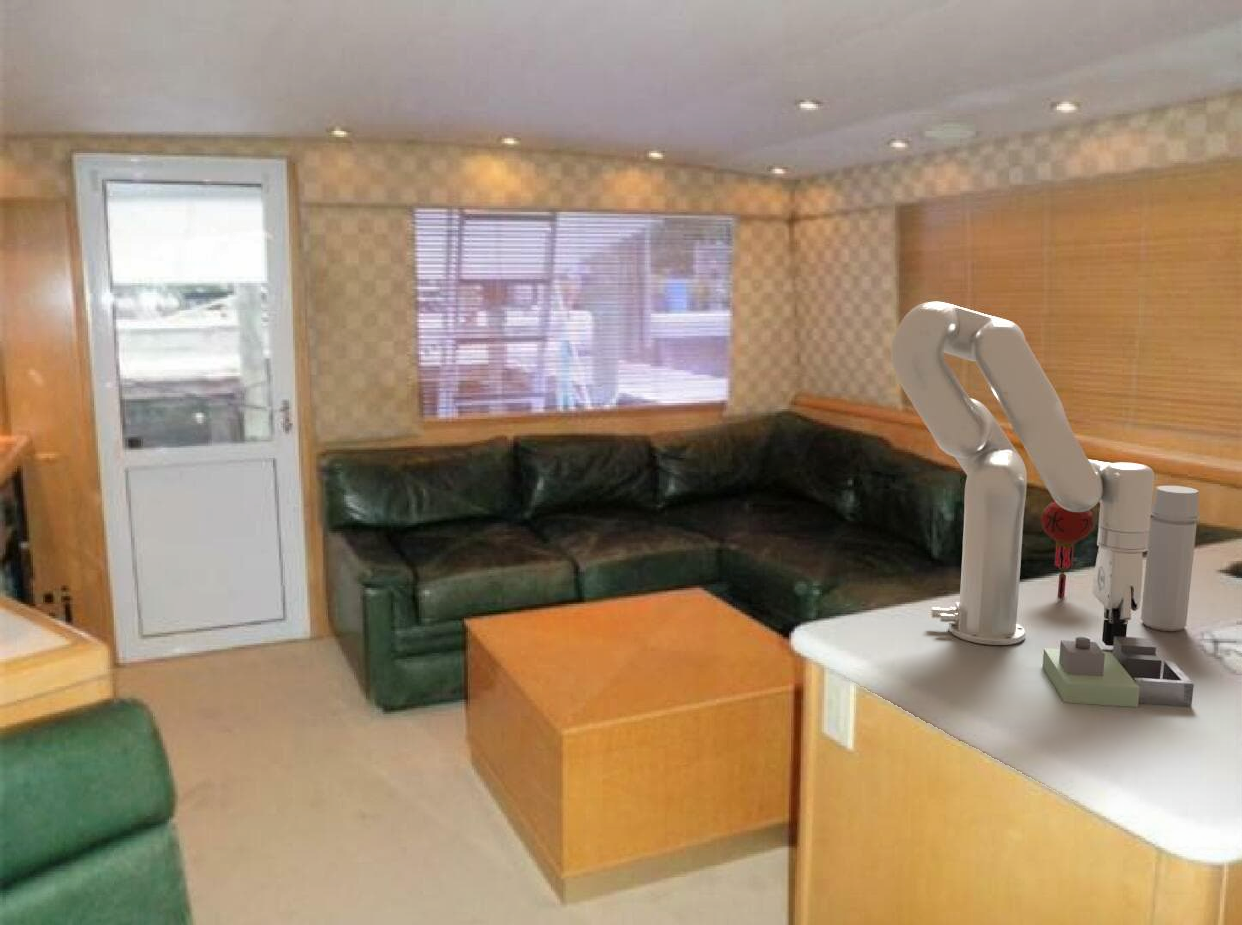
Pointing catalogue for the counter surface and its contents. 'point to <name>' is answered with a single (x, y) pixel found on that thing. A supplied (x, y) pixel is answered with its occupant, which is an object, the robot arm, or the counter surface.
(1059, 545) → the lantern
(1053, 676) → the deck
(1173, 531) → the water bottle
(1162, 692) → the side bracket
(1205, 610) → the counter surface
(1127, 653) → the gray stepped block
